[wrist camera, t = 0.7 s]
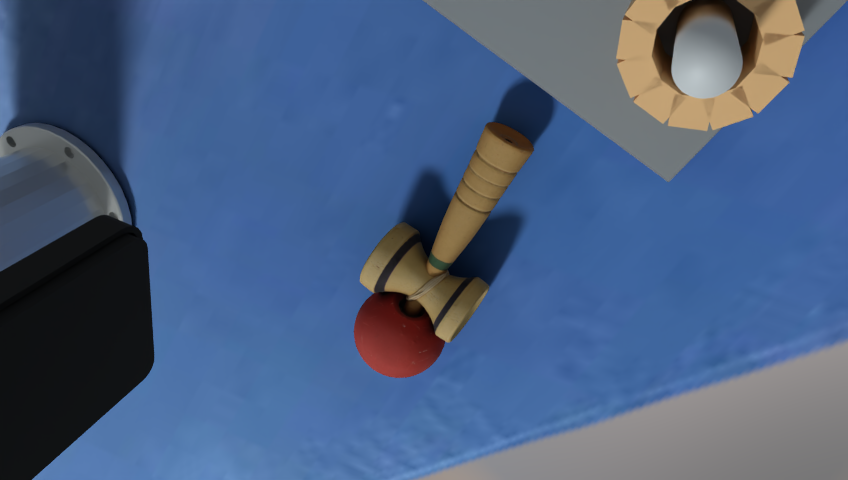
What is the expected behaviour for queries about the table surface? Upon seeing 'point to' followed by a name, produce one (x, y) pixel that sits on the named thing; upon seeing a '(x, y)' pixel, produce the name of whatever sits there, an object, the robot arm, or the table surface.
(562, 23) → the board
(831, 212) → the table surface
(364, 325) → the kendama
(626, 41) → the collar
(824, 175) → the table surface
